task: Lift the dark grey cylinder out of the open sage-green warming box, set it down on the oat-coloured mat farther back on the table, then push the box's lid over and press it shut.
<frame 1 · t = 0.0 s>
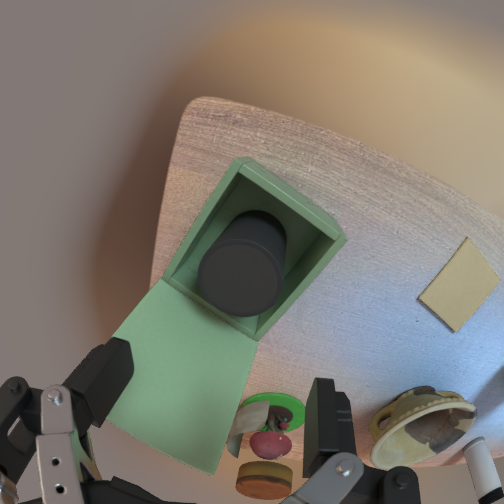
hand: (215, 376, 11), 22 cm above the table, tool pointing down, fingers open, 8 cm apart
dark grey cylinder: (255, 240, 31), point 1 cm above the table, touching green open box
mat: (462, 287, 30), on the table
green open box: (256, 237, 32), on the table
travel mug: (473, 443, 42), on the table
box lid: (178, 368, 22), point 14 cm above the table, hinge at 100.0°
bowl: (412, 399, 38), on the table
mushroom figurine: (273, 410, 42), on the table
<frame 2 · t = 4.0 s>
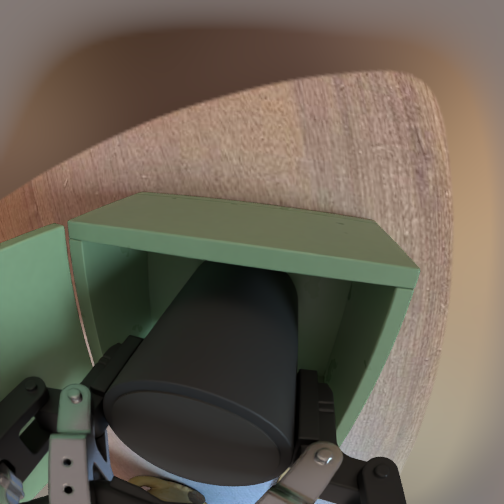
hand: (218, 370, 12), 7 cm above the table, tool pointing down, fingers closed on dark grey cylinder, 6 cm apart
dark grey cylinder: (241, 302, 17), point 1 cm above the table, touching gripper, green open box
green open box: (244, 296, 18), on the table
bowl: (180, 488, 32), on the table
when the fingers open (6 cm above the table, at t = 12.2 s): dark grey cylinder stays where it is, resting on mat.
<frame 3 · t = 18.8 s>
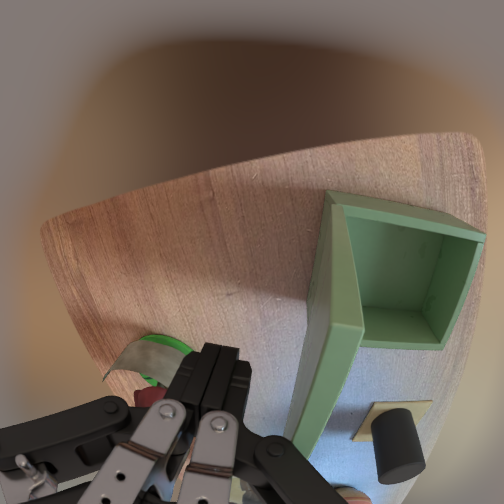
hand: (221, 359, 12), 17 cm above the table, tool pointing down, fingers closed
dark grey cylinder: (391, 421, 34), resting on mat
mat: (391, 422, 35), on the table
green open box: (382, 259, 27), on the table
box lid: (316, 341, 14), point 14 cm above the table, hinge at 96.8°, touching gripper
vase: (340, 491, 45), on the table
bowl: (267, 451, 41), on the table
mushroom figurine: (172, 363, 36), on the table
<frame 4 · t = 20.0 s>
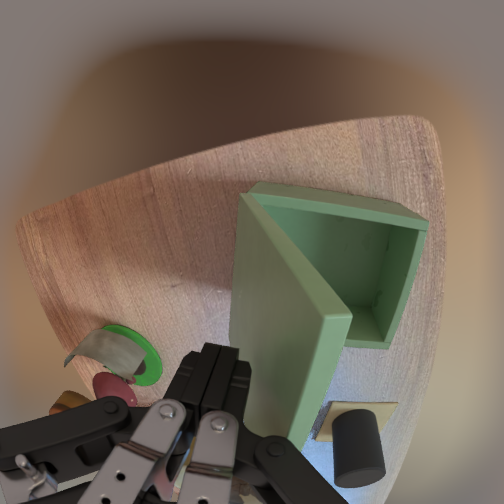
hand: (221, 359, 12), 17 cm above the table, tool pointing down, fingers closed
dark grey cylinder: (354, 422, 35), resting on mat
mat: (355, 423, 35), on the table
green open box: (322, 251, 27), on the table
box lid: (255, 332, 15), point 14 cm above the table, hinge at 72.7°
bowl: (230, 446, 41), on the table
mushroom figurine: (131, 353, 36), on the table
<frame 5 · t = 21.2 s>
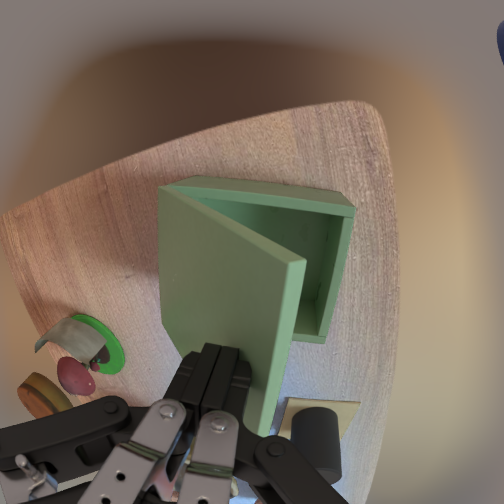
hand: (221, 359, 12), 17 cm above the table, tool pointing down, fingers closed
dark grey cylinder: (314, 420, 35), resting on mat
mat: (316, 421, 36), on the table
green open box: (260, 242, 28), on the table
box lid: (199, 307, 16), point 13 cm above the table, hinge at 49.4°
bowl: (196, 438, 42), on the table
mushroom figurine: (97, 342, 37), on the table
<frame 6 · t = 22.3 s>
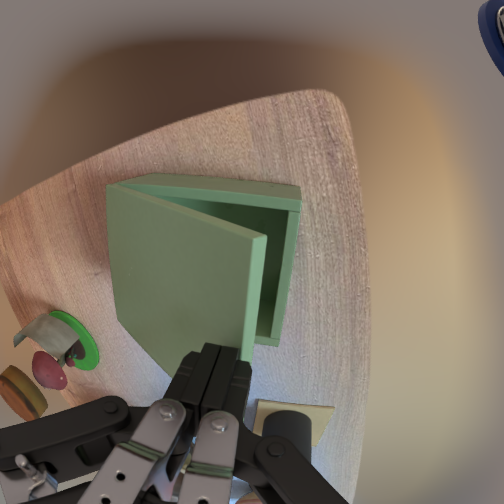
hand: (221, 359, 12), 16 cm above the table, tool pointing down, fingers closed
dark grey cylinder: (287, 423, 35), resting on mat
mat: (290, 424, 35), on the table
green open box: (218, 239, 27), on the table
travel mug: (177, 496, 54), on the table
box lid: (159, 296, 17), point 11 cm above the table, hinge at 34.1°, touching gripper
vase: (269, 492, 46), on the table
mushroom figurine: (74, 339, 36), on the table
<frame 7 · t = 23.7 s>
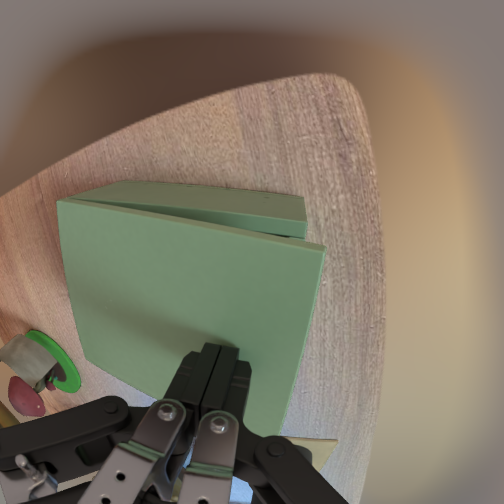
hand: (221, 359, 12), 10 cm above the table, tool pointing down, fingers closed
mat: (289, 456, 30), on the table
green open box: (202, 262, 22), on the table
box lid: (157, 327, 14), point 9 cm above the table, hinge at 11.6°, touching gripper
mushroom figurine: (54, 360, 31), on the table
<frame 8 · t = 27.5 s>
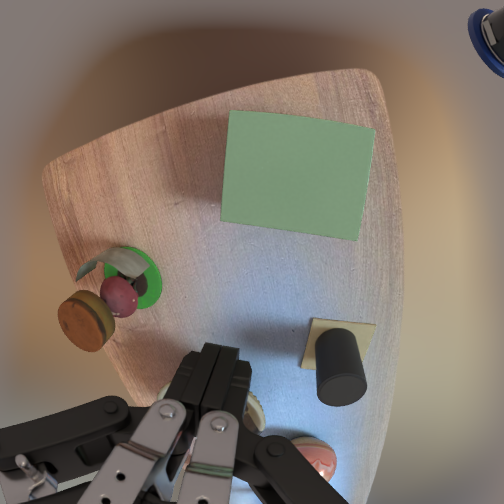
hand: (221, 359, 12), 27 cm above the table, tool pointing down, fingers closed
dark grey cylinder: (335, 344, 42), resting on mat
mat: (337, 347, 43), on the table
box lid: (296, 173, 28), point 7 cm above the table, hinge at 1.8°
vase: (304, 442, 53), on the table
bowl: (221, 378, 49), on the table
mushroom figurine: (135, 276, 44), on the table
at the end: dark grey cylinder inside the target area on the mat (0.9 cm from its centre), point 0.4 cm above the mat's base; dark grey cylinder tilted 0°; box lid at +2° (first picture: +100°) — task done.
